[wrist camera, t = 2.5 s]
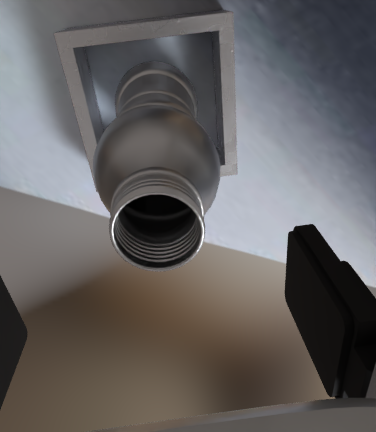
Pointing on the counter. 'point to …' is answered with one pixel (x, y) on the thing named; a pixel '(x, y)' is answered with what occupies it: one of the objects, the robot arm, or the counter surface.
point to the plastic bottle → (156, 169)
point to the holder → (146, 29)
